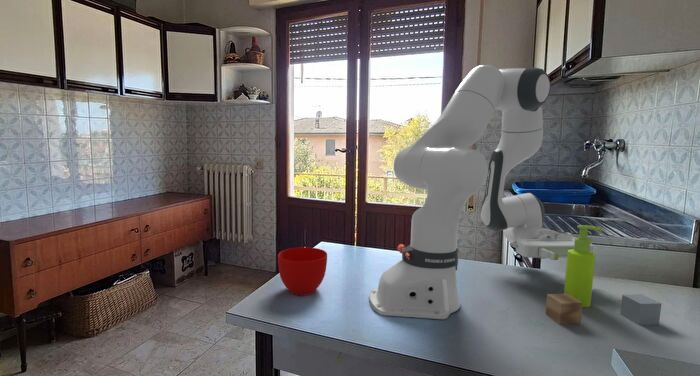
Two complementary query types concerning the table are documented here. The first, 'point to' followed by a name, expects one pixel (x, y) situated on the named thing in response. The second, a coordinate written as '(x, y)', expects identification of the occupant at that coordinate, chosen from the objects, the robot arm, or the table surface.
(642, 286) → the table surface
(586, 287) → the soap dispenser
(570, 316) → the walnut block
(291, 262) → the ceramic cup
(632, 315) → the slate-grey block
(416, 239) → the robot arm
